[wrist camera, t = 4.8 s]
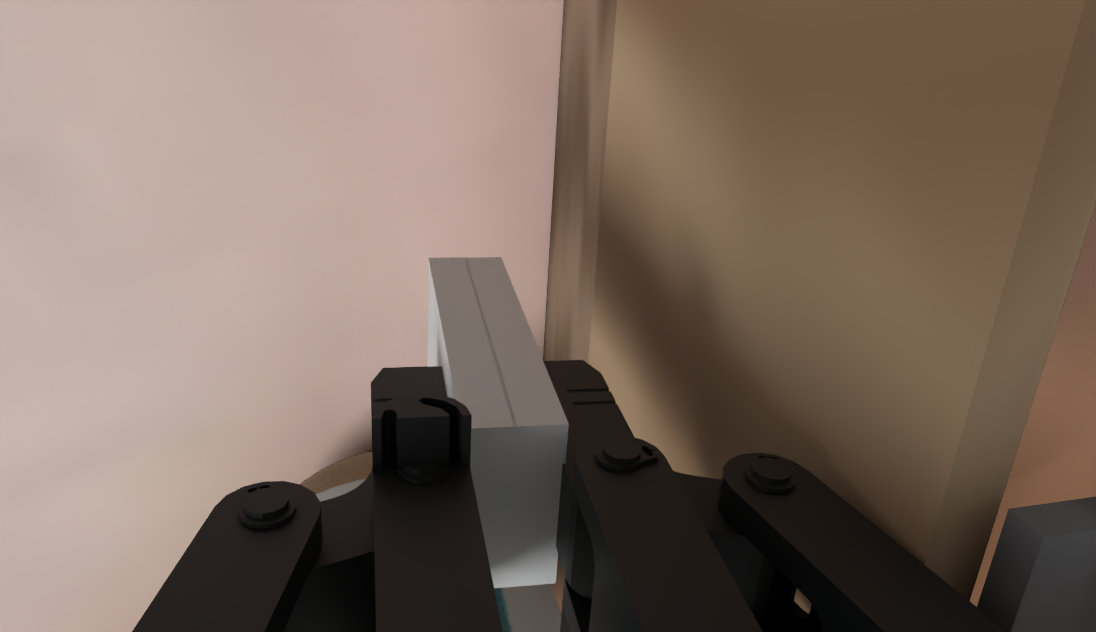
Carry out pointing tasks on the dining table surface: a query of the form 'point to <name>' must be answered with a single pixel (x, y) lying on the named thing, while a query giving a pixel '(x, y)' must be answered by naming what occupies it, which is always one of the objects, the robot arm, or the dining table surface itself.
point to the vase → (521, 609)
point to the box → (578, 175)
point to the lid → (856, 260)
